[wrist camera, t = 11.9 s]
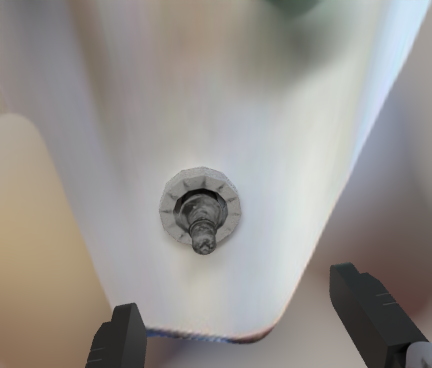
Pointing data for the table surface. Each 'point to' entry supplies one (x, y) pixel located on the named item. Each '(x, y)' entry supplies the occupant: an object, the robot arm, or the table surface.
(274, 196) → the table surface
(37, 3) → the table surface
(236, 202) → the ring
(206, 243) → the salt shaker
